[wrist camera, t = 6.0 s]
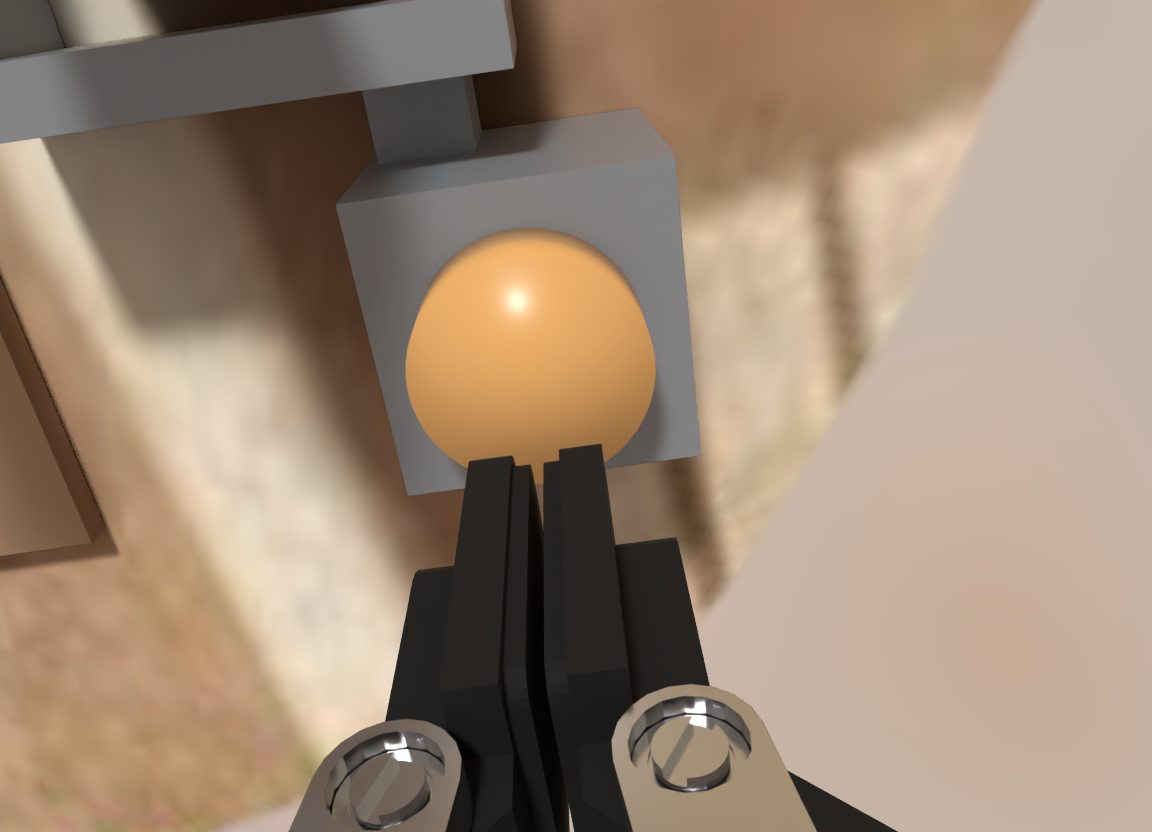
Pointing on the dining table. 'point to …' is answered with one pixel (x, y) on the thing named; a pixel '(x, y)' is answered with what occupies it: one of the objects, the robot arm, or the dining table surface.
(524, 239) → the orange egg-shaped ball
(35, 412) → the pad
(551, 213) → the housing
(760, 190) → the dining table surface
